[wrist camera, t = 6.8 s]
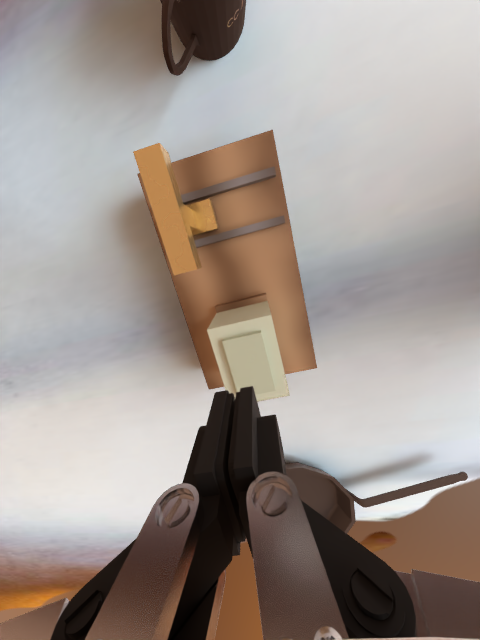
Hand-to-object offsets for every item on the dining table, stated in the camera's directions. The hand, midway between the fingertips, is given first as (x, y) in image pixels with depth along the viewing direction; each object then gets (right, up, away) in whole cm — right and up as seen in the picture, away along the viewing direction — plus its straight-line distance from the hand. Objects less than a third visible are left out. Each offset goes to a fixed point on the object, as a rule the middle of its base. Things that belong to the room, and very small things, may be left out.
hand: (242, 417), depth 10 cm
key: (-5, +13, +11) cm, 18 cm away
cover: (+1, +2, +14) cm, 14 cm away
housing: (0, +9, +17) cm, 20 cm away
